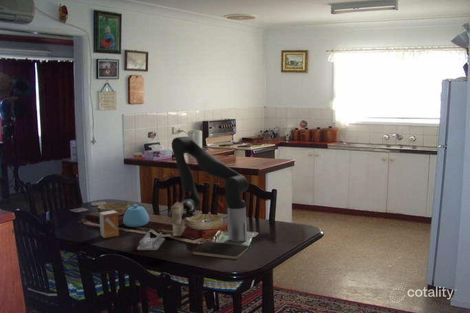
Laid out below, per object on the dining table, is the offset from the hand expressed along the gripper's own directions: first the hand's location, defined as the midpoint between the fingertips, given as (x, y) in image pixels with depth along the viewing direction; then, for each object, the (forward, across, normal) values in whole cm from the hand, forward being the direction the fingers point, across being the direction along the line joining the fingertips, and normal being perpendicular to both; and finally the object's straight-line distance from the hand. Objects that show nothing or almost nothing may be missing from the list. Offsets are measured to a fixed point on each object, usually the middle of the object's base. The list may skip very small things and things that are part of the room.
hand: (178, 217), depth 258 cm
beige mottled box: (0, 0, +8) cm, 8 cm away
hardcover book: (+2, +20, +17) cm, 27 cm away
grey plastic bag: (-7, -16, +16) cm, 24 cm away
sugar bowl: (-45, -35, +16) cm, 59 cm away
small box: (-22, -43, +16) cm, 51 cm away
